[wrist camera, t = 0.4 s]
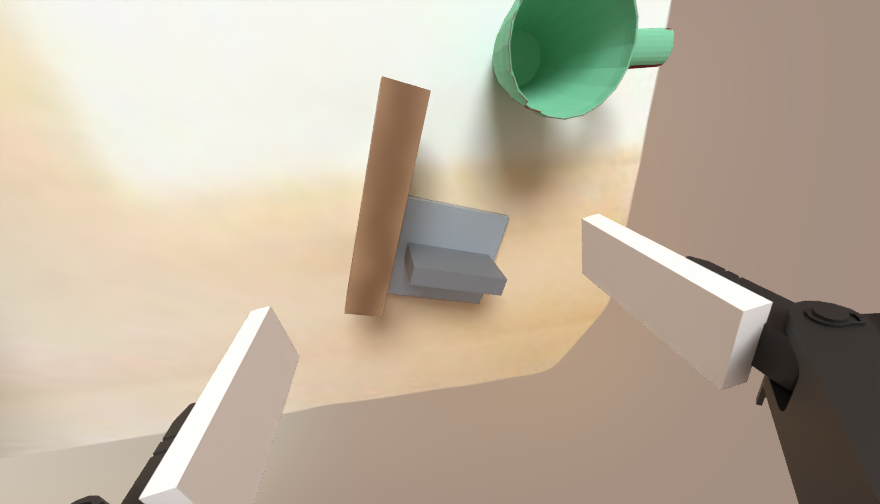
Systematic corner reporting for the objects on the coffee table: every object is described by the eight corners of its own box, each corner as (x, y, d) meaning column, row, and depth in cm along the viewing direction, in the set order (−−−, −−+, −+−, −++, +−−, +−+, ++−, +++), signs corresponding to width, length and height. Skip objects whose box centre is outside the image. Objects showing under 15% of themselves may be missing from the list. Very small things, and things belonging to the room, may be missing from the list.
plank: (346, 293, 33) (344, 313, 30) (381, 79, 25) (382, 76, 22) (381, 296, 34) (382, 316, 31) (423, 91, 26) (430, 90, 23)
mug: (467, 116, 32) (503, 122, 24) (468, -5, 28) (513, -53, 19) (597, 110, 35) (675, 114, 26) (616, -2, 30) (716, -43, 22)
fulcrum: (387, 289, 39) (390, 324, 33) (407, 195, 35) (415, 216, 28) (477, 299, 42) (495, 333, 36) (506, 215, 38) (532, 237, 32)
